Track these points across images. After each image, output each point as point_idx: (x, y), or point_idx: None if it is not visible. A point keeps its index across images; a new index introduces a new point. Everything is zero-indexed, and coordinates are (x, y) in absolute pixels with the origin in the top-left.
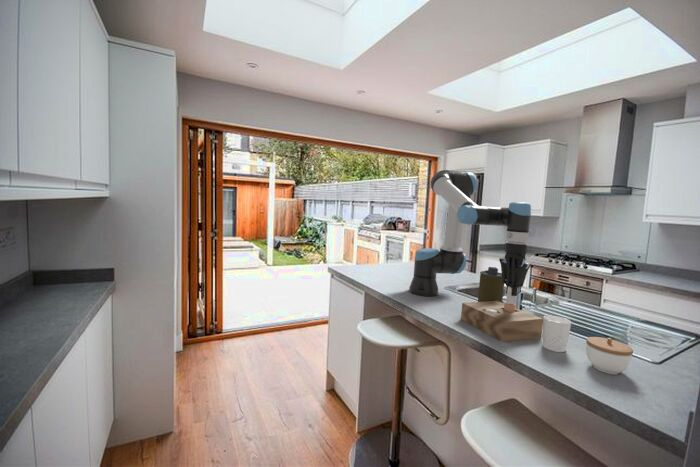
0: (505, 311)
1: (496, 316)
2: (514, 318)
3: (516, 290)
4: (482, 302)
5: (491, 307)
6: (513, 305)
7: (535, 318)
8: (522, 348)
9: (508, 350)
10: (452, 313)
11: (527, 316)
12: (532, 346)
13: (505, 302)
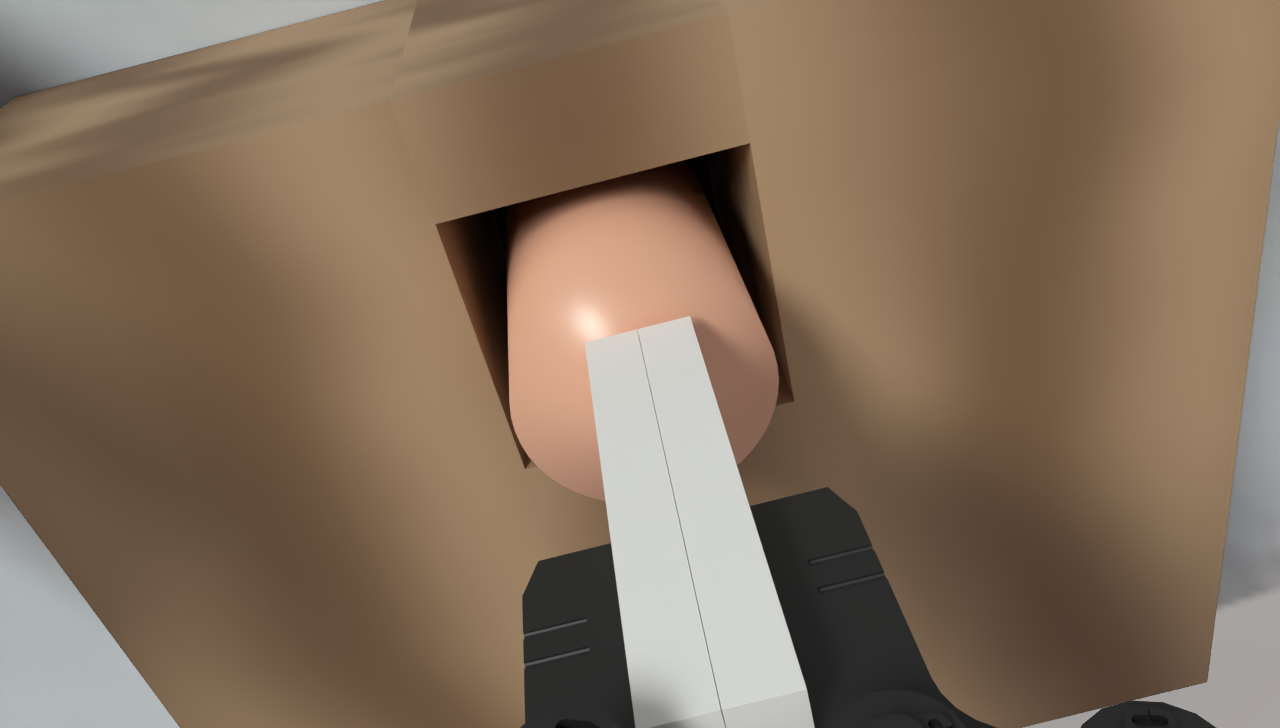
0: (751, 460)
1: (981, 695)
2: (1118, 491)
3: (910, 652)
4: (161, 627)
5: (509, 597)
6: (778, 384)
7: (1234, 72)
8: (1269, 375)
9: (1250, 533)
10: (77, 698)
11: (1086, 178)
12: (1274, 221)
13: (535, 452)
